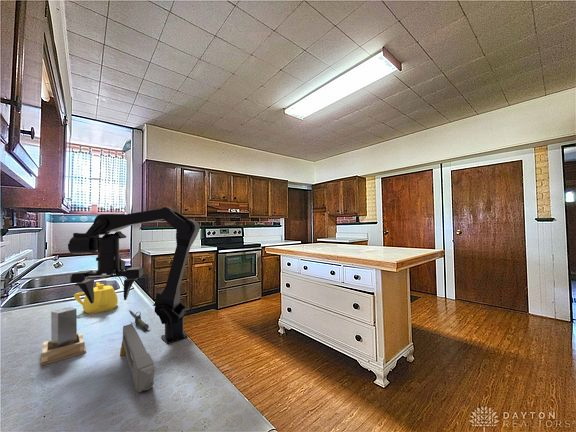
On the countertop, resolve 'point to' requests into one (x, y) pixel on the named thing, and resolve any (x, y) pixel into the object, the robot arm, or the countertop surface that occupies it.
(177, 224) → the robot arm
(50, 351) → the dock
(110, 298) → the teapot
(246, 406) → the countertop surface
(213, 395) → the countertop surface
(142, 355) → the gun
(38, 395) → the countertop surface
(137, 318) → the knife
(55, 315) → the post
